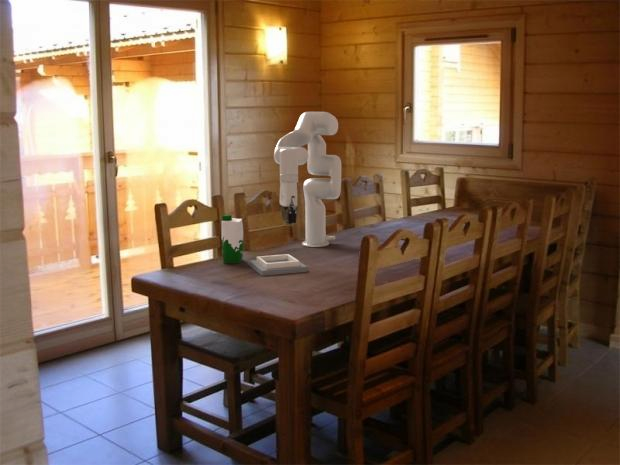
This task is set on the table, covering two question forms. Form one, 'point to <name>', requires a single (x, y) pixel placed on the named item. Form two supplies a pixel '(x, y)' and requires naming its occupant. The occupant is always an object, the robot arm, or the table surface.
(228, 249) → the milk carton
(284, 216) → the cup
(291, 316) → the table surface
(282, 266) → the stand
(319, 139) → the robot arm
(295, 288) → the table surface
